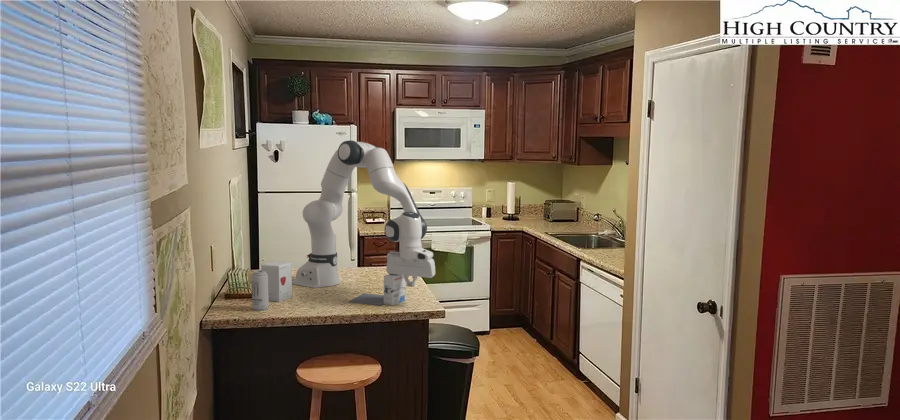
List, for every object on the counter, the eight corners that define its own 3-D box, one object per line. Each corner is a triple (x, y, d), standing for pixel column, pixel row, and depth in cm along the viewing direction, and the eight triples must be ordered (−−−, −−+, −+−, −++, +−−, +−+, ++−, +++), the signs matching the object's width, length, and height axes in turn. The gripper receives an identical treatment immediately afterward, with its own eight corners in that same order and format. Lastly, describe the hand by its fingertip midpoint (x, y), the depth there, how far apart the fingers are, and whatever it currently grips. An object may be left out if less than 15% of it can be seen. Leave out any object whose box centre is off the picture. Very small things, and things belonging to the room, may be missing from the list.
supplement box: (279, 302, 233) (278, 266, 232) (261, 300, 236) (260, 264, 235) (293, 296, 242) (292, 261, 240) (275, 294, 245) (274, 260, 243)
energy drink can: (249, 310, 223) (247, 272, 221) (260, 306, 228) (258, 269, 226) (261, 312, 220) (260, 273, 218) (272, 308, 226) (271, 270, 224)
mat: (349, 302, 235) (348, 301, 235) (363, 294, 247) (363, 293, 247) (380, 305, 230) (380, 304, 230) (393, 297, 242) (393, 296, 242)
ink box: (395, 299, 240) (395, 271, 238) (405, 300, 237) (405, 273, 236) (383, 303, 233) (382, 275, 231) (392, 305, 230) (392, 277, 229)
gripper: (383, 252, 231) (383, 285, 232) (431, 256, 224) (431, 290, 226) (390, 249, 237) (390, 282, 238) (436, 253, 230) (436, 286, 232)
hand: (410, 286), depth 232 cm, fingers closed
